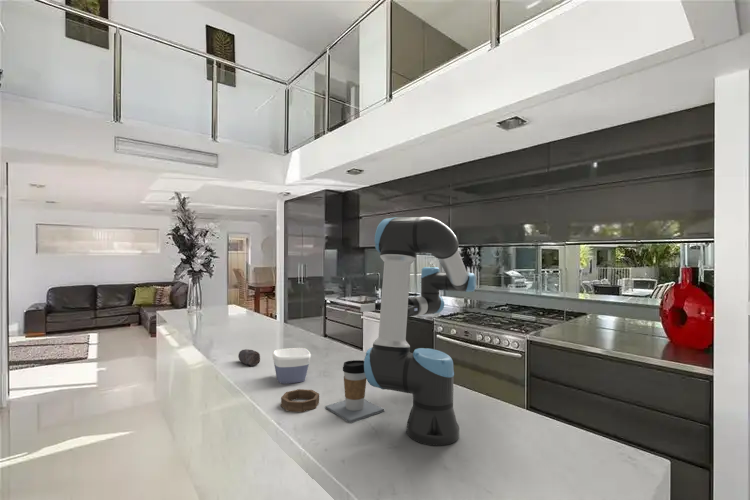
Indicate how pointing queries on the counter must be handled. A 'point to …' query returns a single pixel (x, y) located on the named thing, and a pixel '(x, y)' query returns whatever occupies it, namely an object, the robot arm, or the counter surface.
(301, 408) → the cup cradle
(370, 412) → the rubber mat
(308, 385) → the counter surface
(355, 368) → the coffee cup
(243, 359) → the perforated stone tool
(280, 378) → the blue white tub
